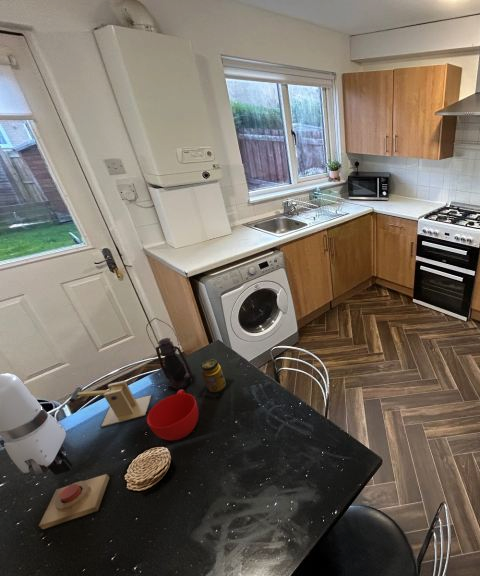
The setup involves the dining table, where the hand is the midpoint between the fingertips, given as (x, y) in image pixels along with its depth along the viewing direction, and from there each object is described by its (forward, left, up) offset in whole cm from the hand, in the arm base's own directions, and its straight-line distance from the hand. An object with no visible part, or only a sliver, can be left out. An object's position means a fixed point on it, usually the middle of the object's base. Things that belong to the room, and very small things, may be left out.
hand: (64, 469), depth 79 cm
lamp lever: (-1, +26, 0) cm, 26 cm away
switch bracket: (+4, +26, -10) cm, 28 cm away
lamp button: (0, -3, -6) cm, 7 cm away
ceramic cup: (+22, +13, -10) cm, 28 cm away
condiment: (+31, +26, -10) cm, 42 cm away
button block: (0, -3, -10) cm, 10 cm away
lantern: (+19, +34, -10) cm, 40 cm away
